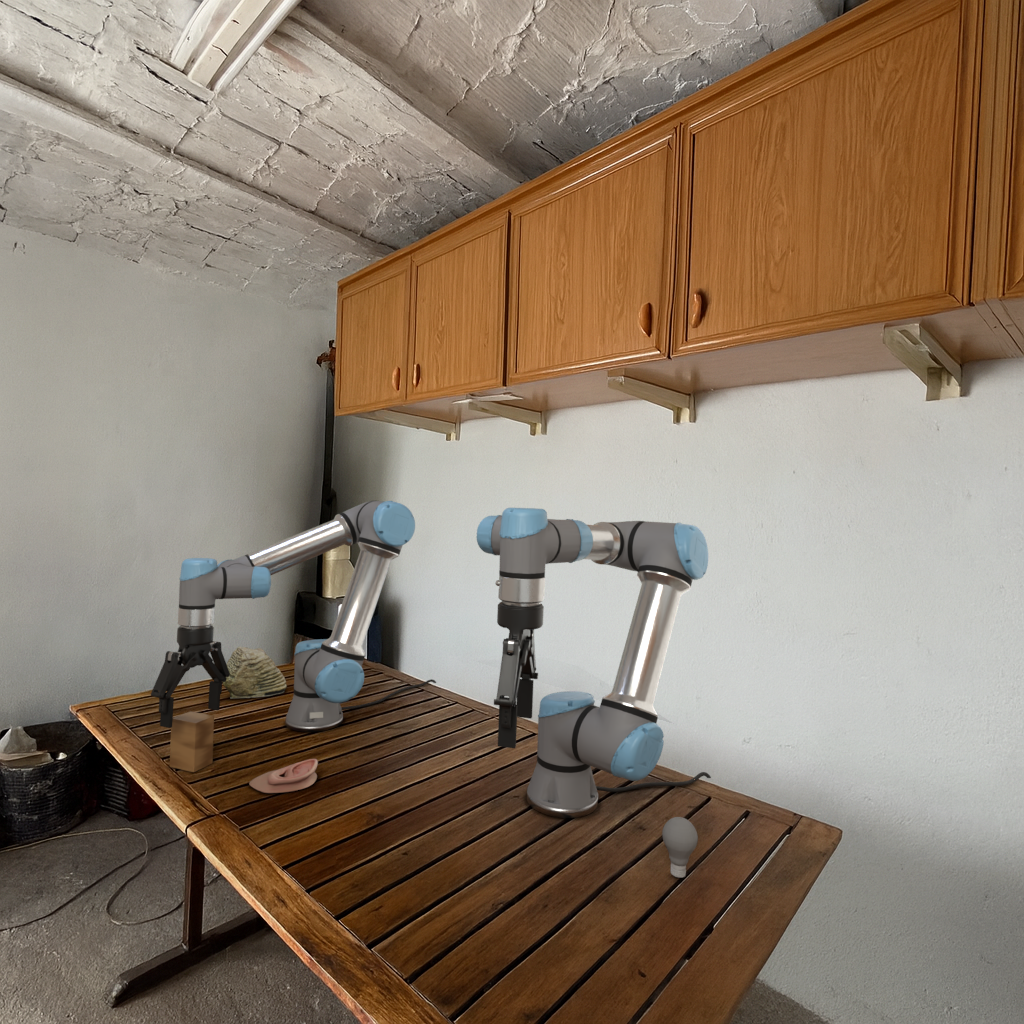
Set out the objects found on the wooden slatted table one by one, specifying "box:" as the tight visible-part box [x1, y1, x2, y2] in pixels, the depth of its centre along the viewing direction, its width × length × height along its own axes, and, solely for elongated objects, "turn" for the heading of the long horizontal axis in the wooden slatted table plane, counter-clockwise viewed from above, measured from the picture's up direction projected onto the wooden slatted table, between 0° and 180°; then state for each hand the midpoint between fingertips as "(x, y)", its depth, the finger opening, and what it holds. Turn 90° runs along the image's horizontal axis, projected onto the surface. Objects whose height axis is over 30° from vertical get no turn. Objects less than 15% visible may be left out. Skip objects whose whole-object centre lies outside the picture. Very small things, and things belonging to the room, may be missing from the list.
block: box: [169, 710, 215, 773], centre depth 146 cm, size 6×7×11 cm
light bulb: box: [661, 816, 699, 879], centre depth 110 cm, size 6×6×10 cm
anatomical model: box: [248, 758, 319, 794], centre depth 139 cm, size 13×4×12 cm
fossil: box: [222, 646, 288, 699], centre depth 198 cm, size 9×18×15 cm, turn 132°
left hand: (190, 717), depth 146 cm, fingers open, 13 cm apart
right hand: (516, 731), depth 104 cm, fingers open, 13 cm apart
